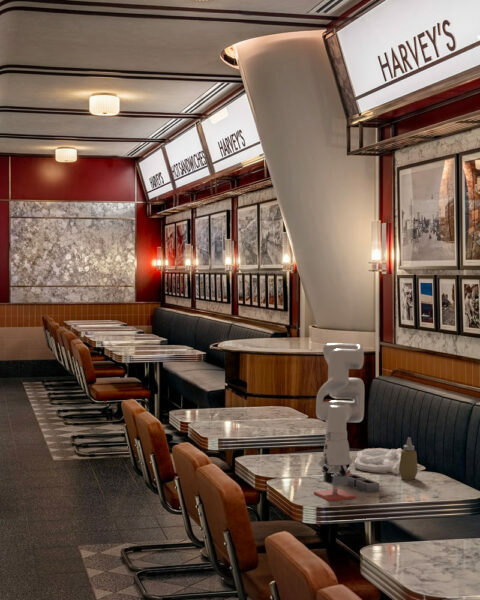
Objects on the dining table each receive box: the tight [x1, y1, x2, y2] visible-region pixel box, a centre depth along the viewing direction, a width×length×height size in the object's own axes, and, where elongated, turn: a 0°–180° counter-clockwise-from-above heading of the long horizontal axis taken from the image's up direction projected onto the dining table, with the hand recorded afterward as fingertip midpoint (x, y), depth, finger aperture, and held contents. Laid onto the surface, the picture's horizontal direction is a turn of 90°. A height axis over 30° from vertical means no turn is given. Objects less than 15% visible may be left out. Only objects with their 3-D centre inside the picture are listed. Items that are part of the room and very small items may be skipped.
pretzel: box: [353, 447, 403, 476], centre depth 405 cm, size 28×24×6 cm
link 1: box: [346, 473, 367, 489], centre depth 370 cm, size 8×6×4 cm
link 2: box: [355, 478, 380, 494], centre depth 362 cm, size 8×6×4 cm
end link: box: [322, 472, 348, 487], centre depth 350 cm, size 8×6×4 cm
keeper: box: [313, 474, 357, 502], centre depth 351 cm, size 12×12×9 cm
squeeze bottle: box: [399, 436, 419, 481], centre depth 384 cm, size 8×8×18 cm
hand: (335, 481), depth 350 cm, fingers closed on end link, 6 cm apart
